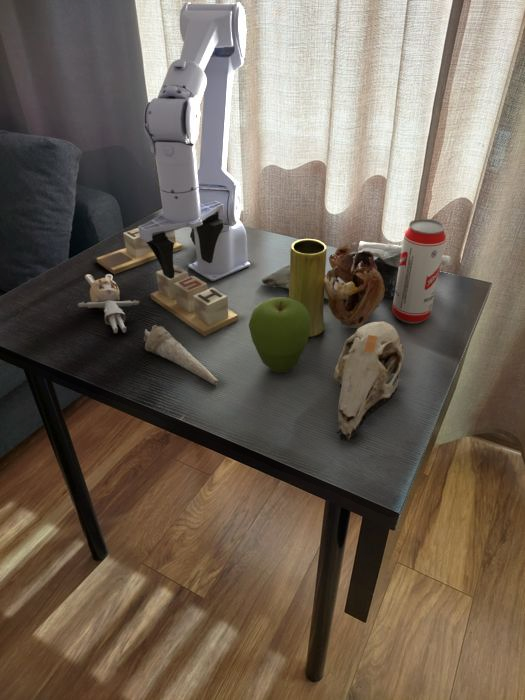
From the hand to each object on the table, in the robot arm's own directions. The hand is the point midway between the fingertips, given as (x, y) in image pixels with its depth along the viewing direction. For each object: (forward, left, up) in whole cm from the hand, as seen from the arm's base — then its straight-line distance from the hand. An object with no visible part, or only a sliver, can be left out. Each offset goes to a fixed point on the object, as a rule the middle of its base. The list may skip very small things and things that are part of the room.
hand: (188, 268), depth 86 cm
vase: (-10, +17, -8) cm, 22 cm away
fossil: (-20, +9, -8) cm, 23 cm away
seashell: (+10, +11, -8) cm, 17 cm away
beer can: (-26, +27, -8) cm, 38 cm away
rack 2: (0, 0, -8) cm, 8 cm away
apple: (0, +22, -8) cm, 23 cm away
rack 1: (-4, -24, -8) cm, 26 cm away
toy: (+11, -9, -8) cm, 16 cm away
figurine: (-35, +7, -5) cm, 36 cm away
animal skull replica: (-3, +35, -8) cm, 36 cm away
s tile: (0, 0, -7) cm, 7 cm away
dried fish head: (-19, +13, -7) cm, 24 cm away
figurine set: (-12, +31, -8) cm, 34 cm away
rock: (-26, +18, -6) cm, 33 cm away
